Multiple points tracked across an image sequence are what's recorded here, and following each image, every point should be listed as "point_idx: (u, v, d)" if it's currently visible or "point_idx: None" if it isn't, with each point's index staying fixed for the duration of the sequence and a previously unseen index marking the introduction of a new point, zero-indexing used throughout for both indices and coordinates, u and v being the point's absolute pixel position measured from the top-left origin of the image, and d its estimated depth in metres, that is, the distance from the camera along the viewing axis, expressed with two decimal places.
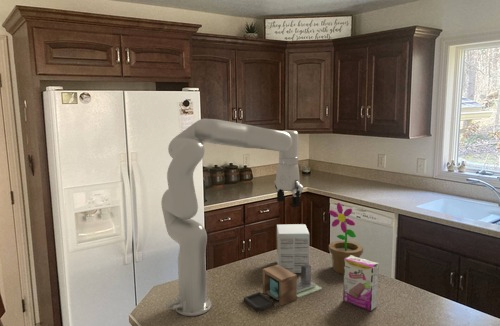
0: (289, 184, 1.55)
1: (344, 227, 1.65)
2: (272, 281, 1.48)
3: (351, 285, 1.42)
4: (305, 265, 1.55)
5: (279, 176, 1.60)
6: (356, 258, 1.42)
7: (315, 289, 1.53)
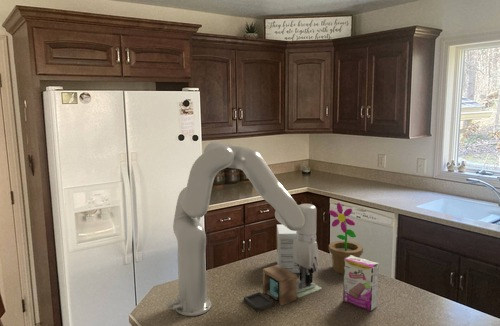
0: (308, 261, 1.50)
1: (344, 227, 1.65)
2: (272, 281, 1.48)
3: (351, 285, 1.42)
4: None
5: (297, 251, 1.54)
6: (356, 258, 1.42)
7: (315, 289, 1.53)
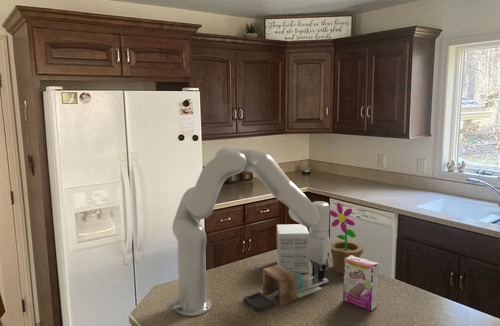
0: (321, 257, 1.53)
1: (344, 227, 1.65)
2: None
3: (351, 285, 1.42)
4: None
5: (310, 247, 1.58)
6: (356, 258, 1.42)
7: (315, 289, 1.53)
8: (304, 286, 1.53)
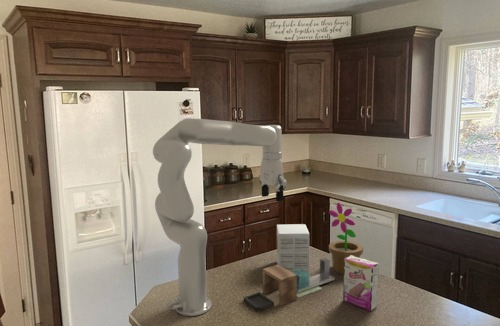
0: (273, 179, 1.55)
1: (344, 227, 1.65)
2: None
3: (351, 285, 1.42)
4: (324, 259, 1.61)
5: (263, 171, 1.59)
6: (356, 258, 1.42)
7: (315, 289, 1.53)
8: (311, 284, 1.55)
